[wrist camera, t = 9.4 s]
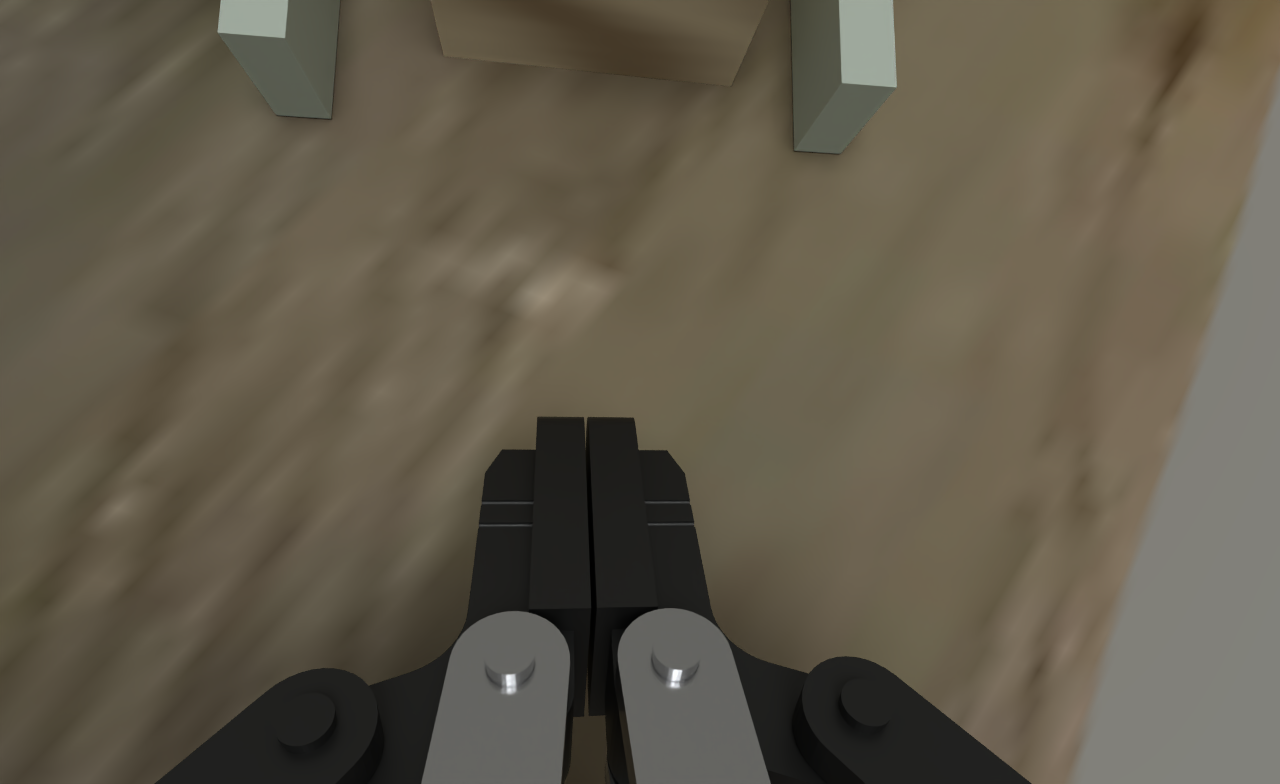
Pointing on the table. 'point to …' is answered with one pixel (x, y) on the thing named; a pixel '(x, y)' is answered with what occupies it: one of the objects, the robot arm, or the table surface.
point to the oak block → (605, 35)
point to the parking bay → (821, 61)
